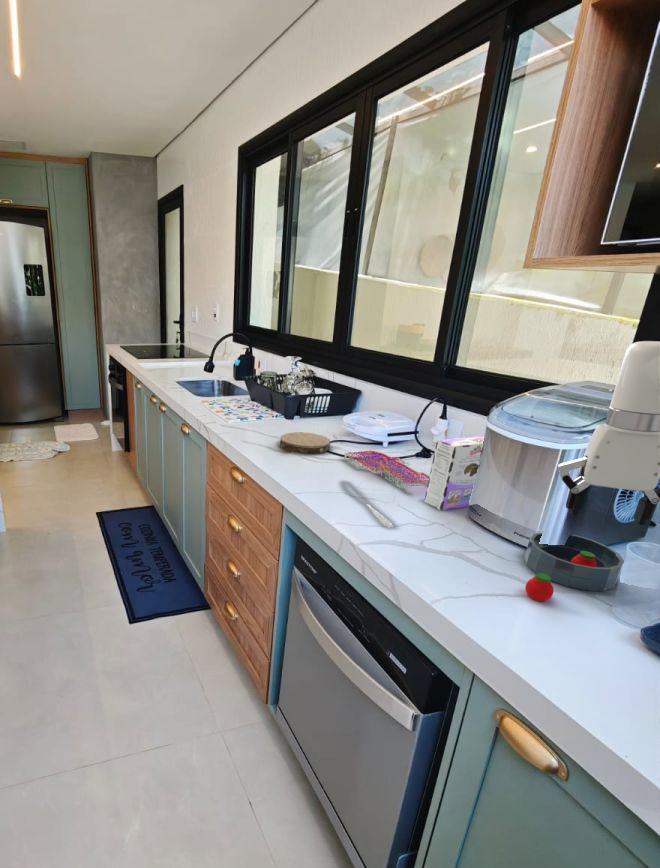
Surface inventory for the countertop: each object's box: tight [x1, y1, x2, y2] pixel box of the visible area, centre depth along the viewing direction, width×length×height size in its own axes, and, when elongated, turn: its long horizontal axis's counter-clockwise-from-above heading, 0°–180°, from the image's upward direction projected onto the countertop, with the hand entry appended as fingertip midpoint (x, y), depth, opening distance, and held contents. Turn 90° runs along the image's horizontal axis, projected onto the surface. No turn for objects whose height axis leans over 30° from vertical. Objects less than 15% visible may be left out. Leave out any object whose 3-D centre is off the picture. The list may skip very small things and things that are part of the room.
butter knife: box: [366, 503, 394, 529], centre depth 122 cm, size 1×27×3 cm
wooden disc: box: [279, 431, 331, 455], centre depth 163 cm, size 16×16×3 cm
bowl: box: [523, 532, 625, 592], centre depth 94 cm, size 14×14×5 cm
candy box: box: [424, 435, 485, 511], centre depth 120 cm, size 14×6×16 cm, turn 111°
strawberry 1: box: [524, 573, 555, 602], centre depth 85 cm, size 4×4×4 cm
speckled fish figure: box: [343, 450, 430, 493], centre depth 140 cm, size 30×15×5 cm, turn 13°
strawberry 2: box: [571, 551, 597, 567], centre depth 92 cm, size 4×4×4 cm
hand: (604, 517), depth 88 cm, fingers open, 9 cm apart
